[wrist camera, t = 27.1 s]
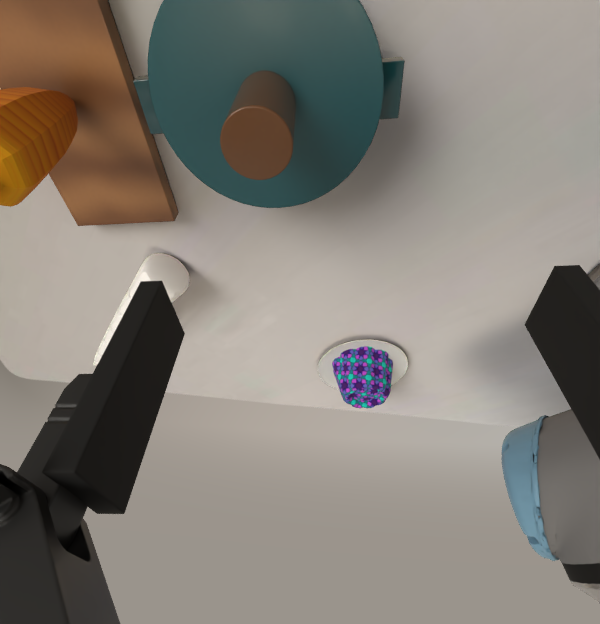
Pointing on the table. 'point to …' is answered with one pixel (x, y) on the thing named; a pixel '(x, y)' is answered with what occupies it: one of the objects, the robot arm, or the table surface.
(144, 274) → the unicorn horn
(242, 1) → the lid
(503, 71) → the table surface
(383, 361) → the pudding
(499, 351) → the table surface
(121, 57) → the board
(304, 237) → the table surface
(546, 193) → the table surface
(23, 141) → the carrot
